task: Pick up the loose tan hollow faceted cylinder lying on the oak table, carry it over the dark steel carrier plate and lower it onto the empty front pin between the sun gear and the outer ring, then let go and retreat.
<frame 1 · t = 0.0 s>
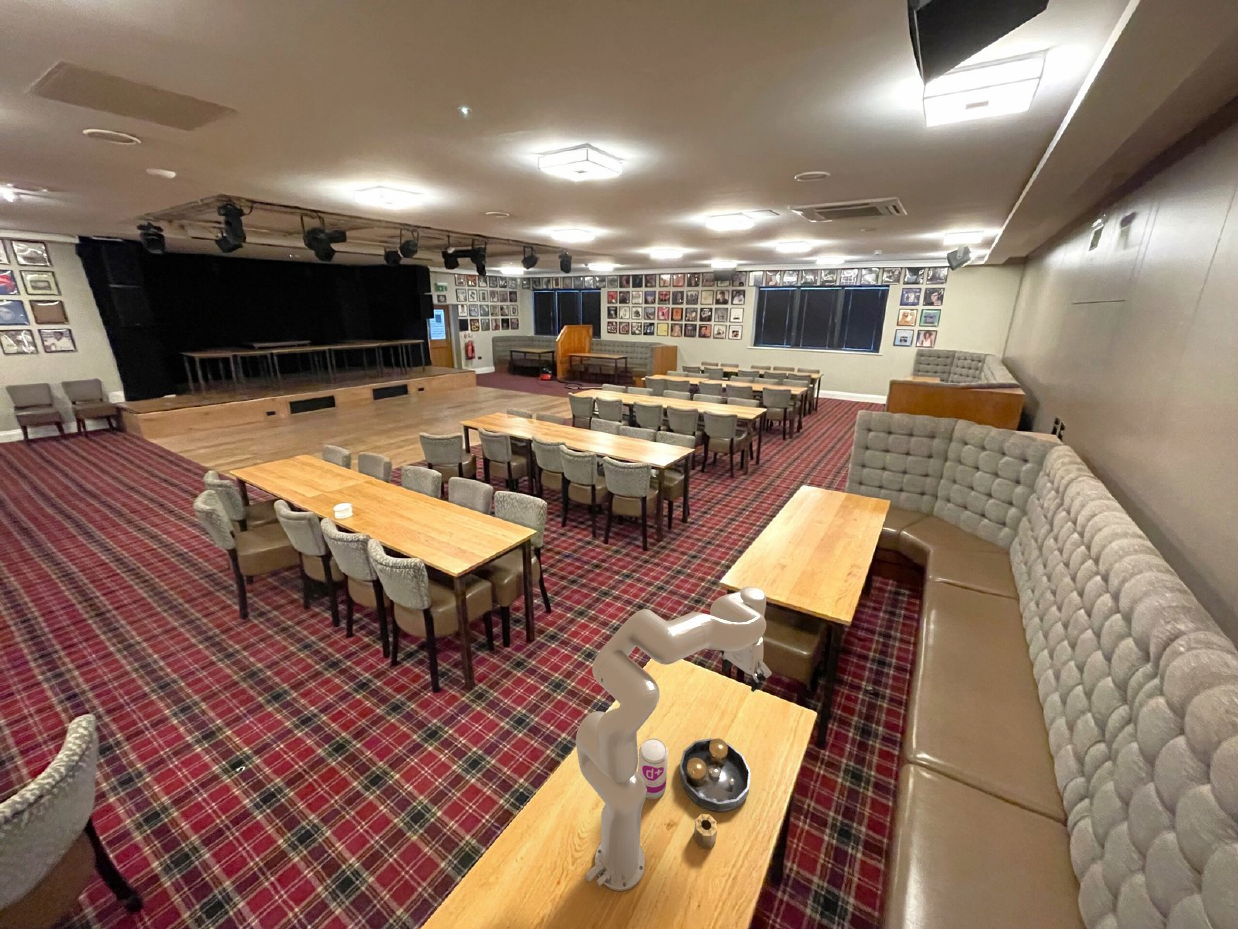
hand: (740, 679, 141), 31 cm above the table, fingers open, 9 cm apart
carrier: (714, 778, 146), on the table
supplement can: (651, 787, 143), on the table
tan hollow faceted cylinder: (704, 837, 130), on the table
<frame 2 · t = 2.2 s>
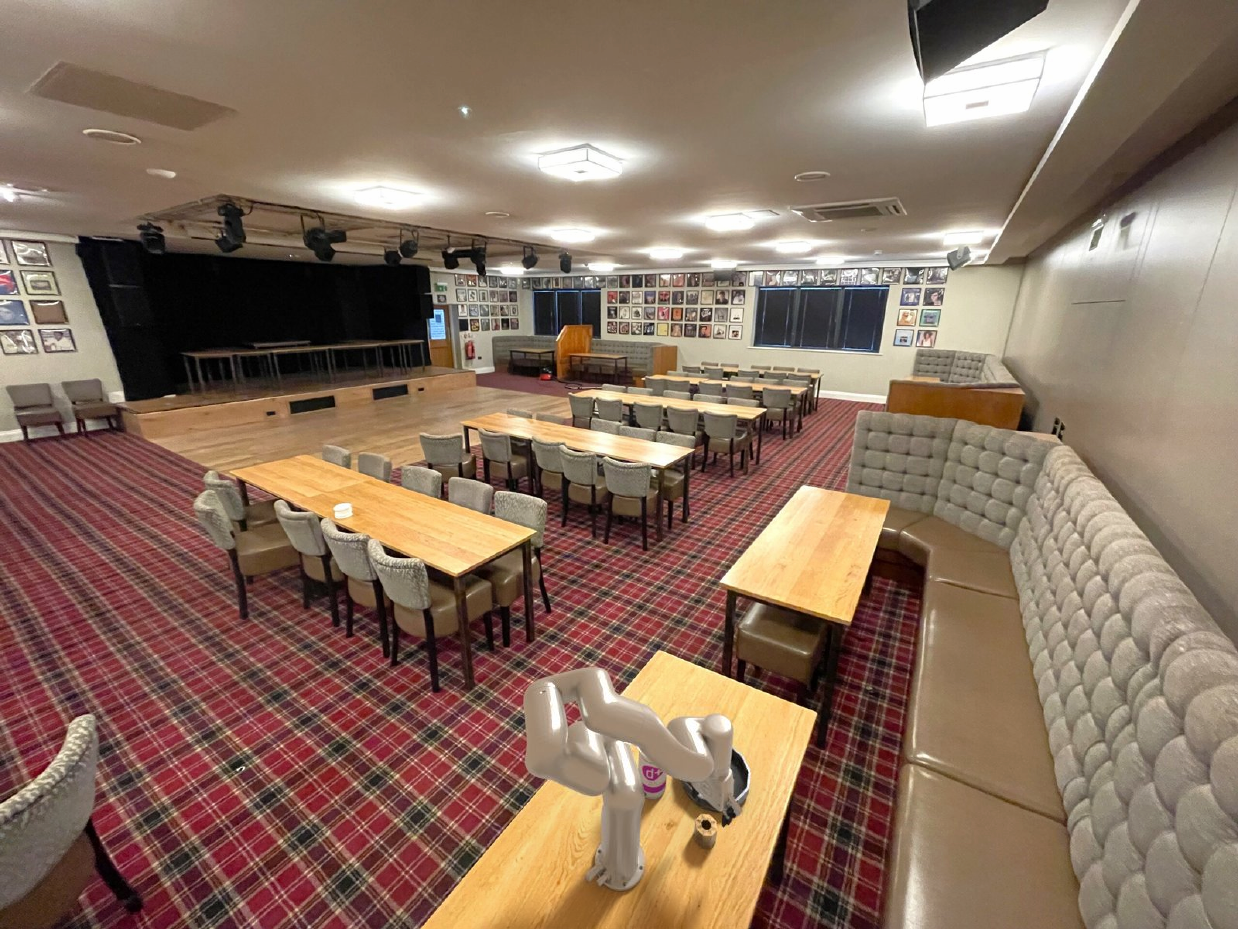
hand: (711, 808, 127), 11 cm above the table, fingers open, 9 cm apart
nothing on the table moved.
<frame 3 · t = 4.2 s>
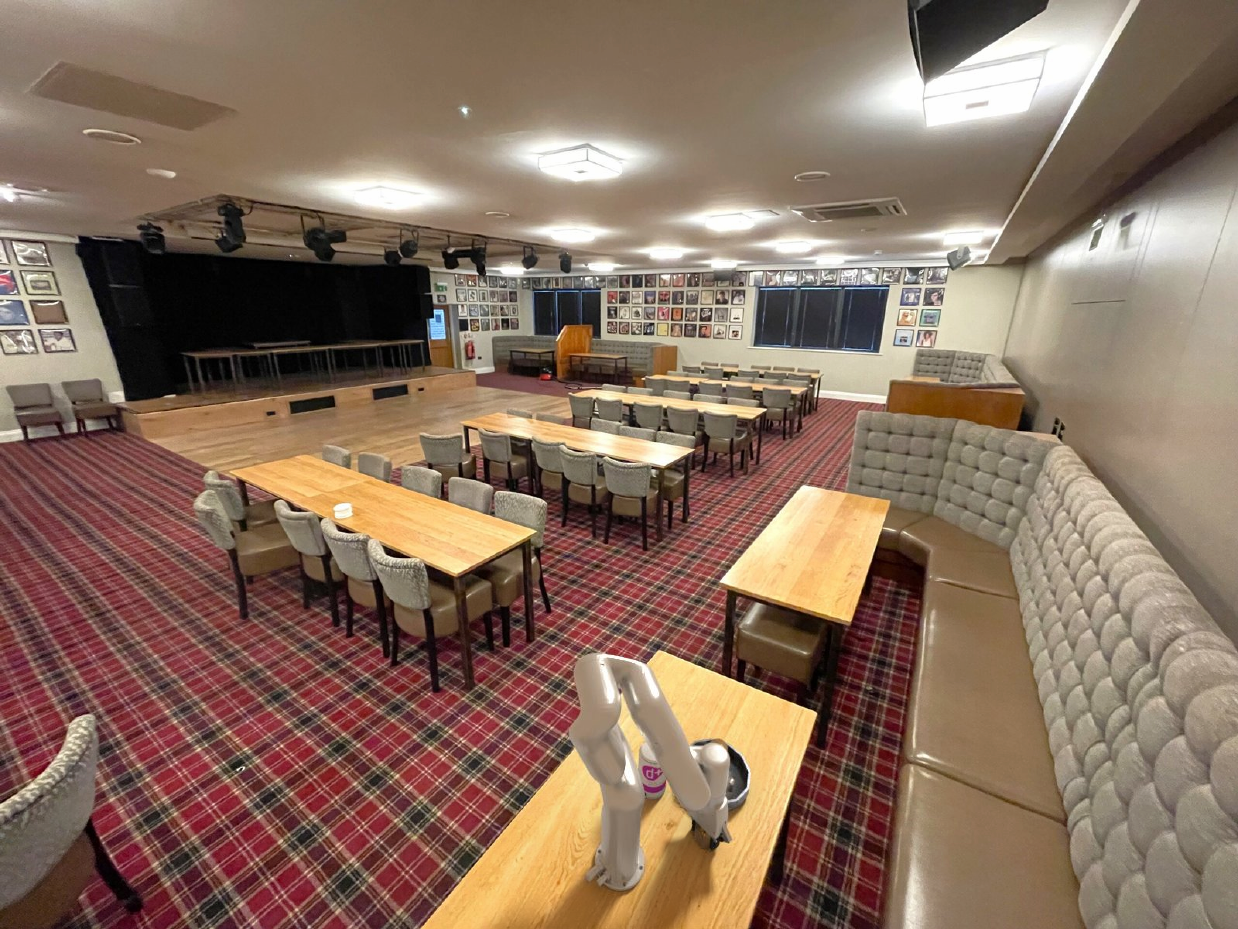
hand: (704, 836, 130), 0 cm above the table, fingers closed on tan hollow faceted cylinder, 5 cm apart
tan hollow faceted cylinder: (704, 837, 130), on the table, touching gripper
everything else where it was.
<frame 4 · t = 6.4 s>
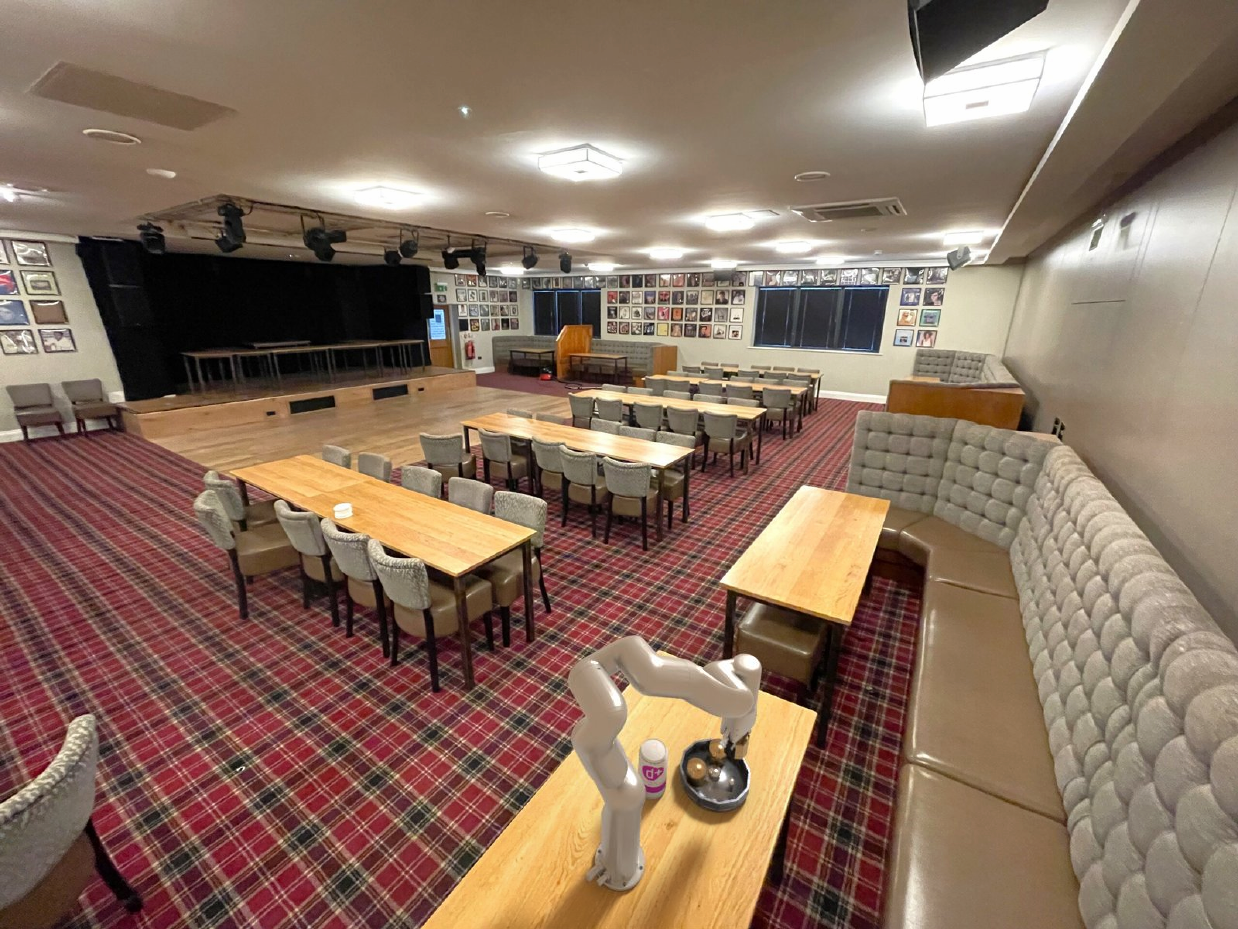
hand: (736, 748, 135), 18 cm above the table, fingers closed on tan hollow faceted cylinder, 5 cm apart
tan hollow faceted cylinder: (736, 750, 135), point 18 cm above the table, touching gripper
everything else where it was.
when the fingers open (3 cm above the table, at t = 8.8 s): tan hollow faceted cylinder stays where it is, resting on carrier.
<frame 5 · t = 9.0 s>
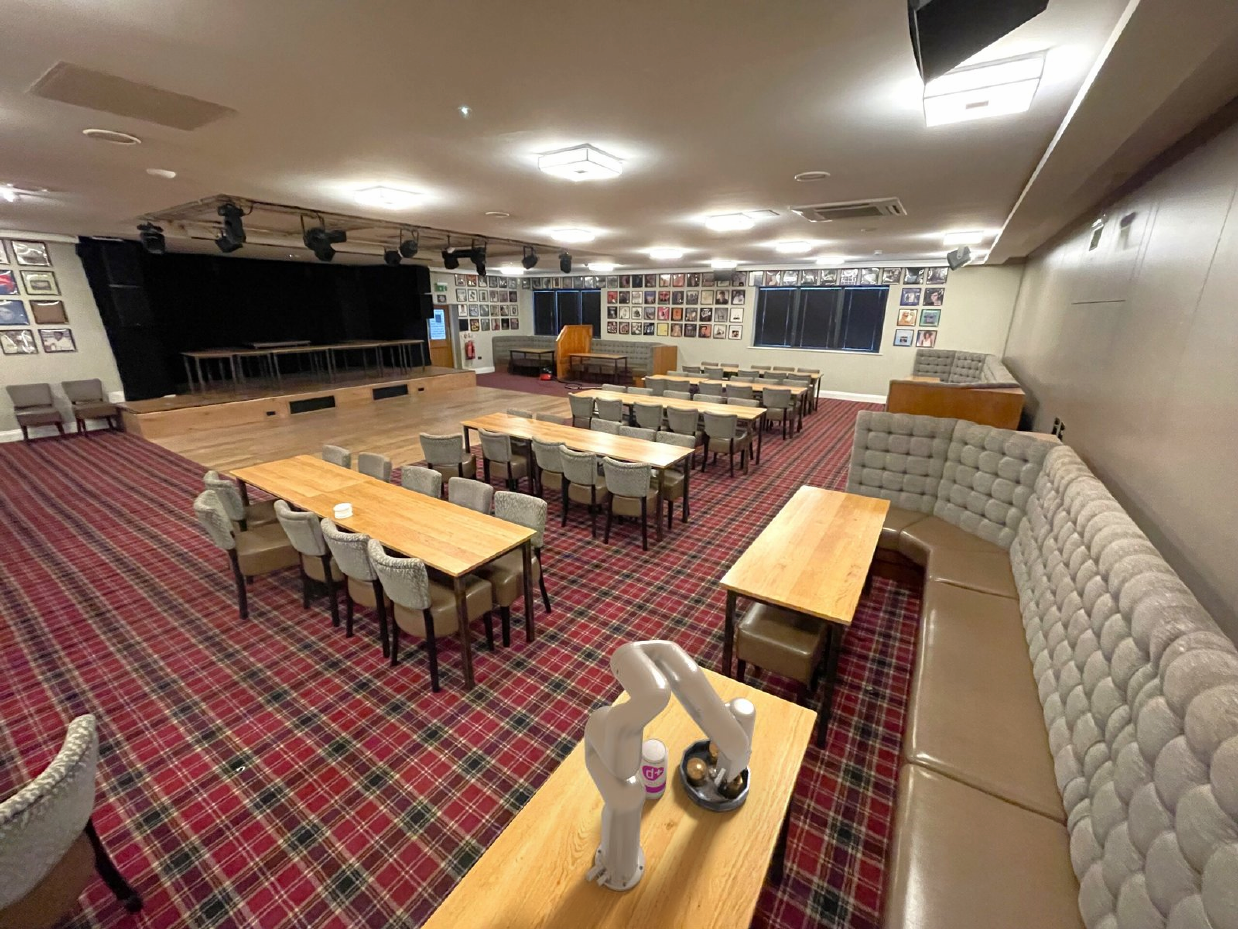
hand: (730, 785, 141), 3 cm above the table, fingers open, 7 cm apart
tan hollow faceted cylinder: (730, 790, 141), point 1 cm above the table, touching carrier
everything else where it was.
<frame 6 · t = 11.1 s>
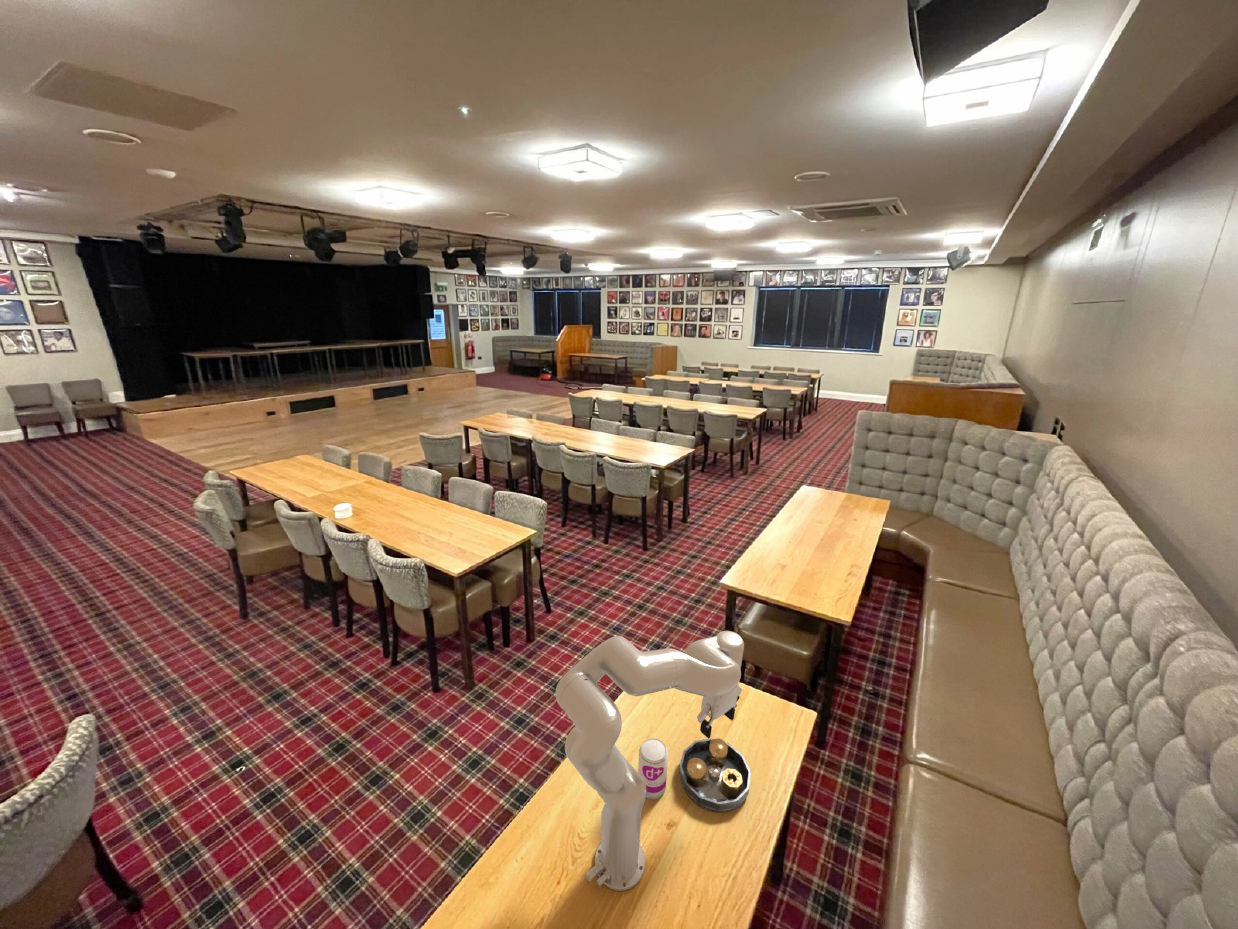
hand: (717, 725, 136), 23 cm above the table, fingers open, 9 cm apart
nothing on the table moved.
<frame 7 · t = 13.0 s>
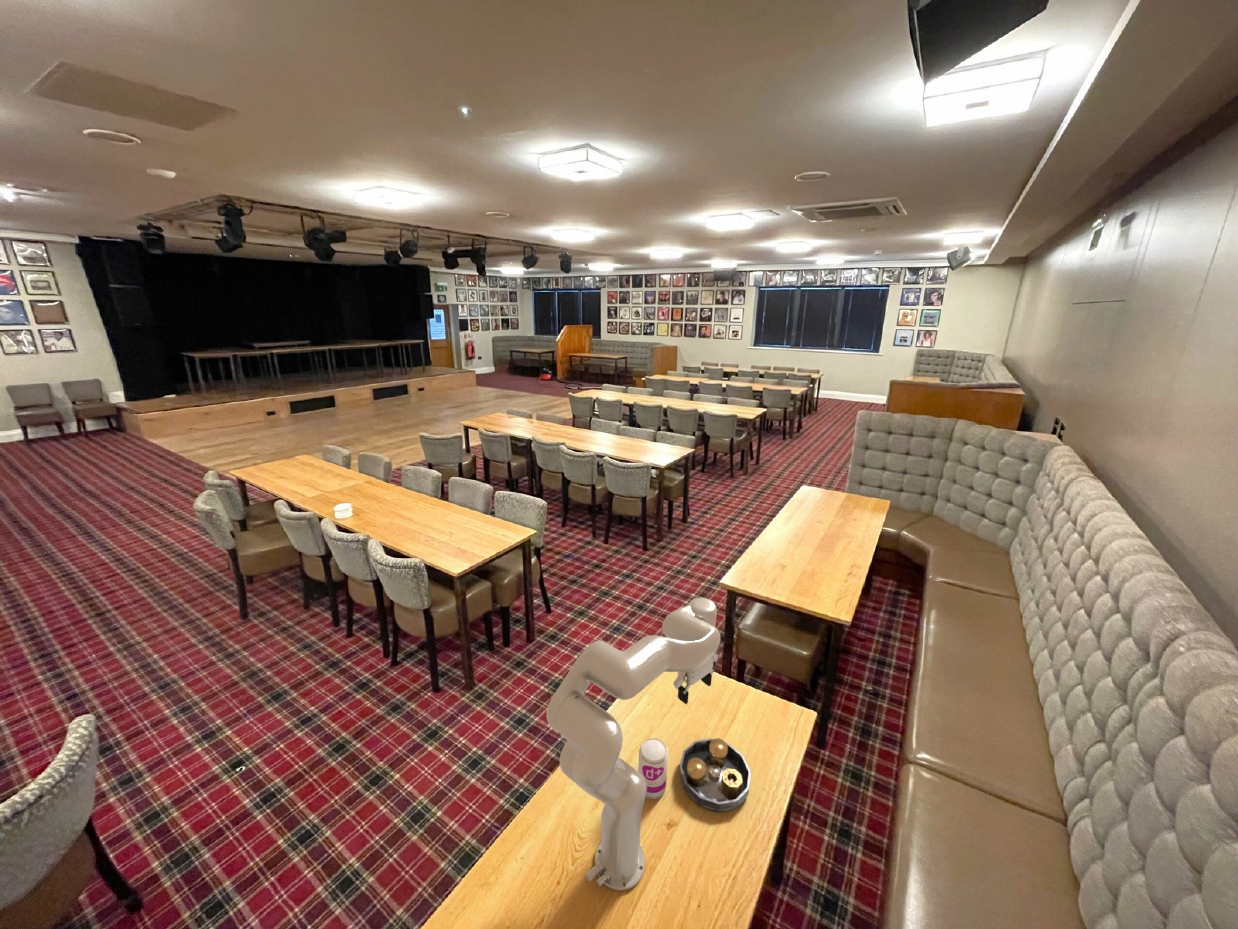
hand: (694, 691, 137), 30 cm above the table, fingers open, 9 cm apart
nothing on the table moved.
at the end: tan hollow faceted cylinder 0.1 cm from the target spot on the carrier, point 1.2 cm above the carrier's base; tan hollow faceted cylinder tilted 0°; the gripper is holding nothing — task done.
